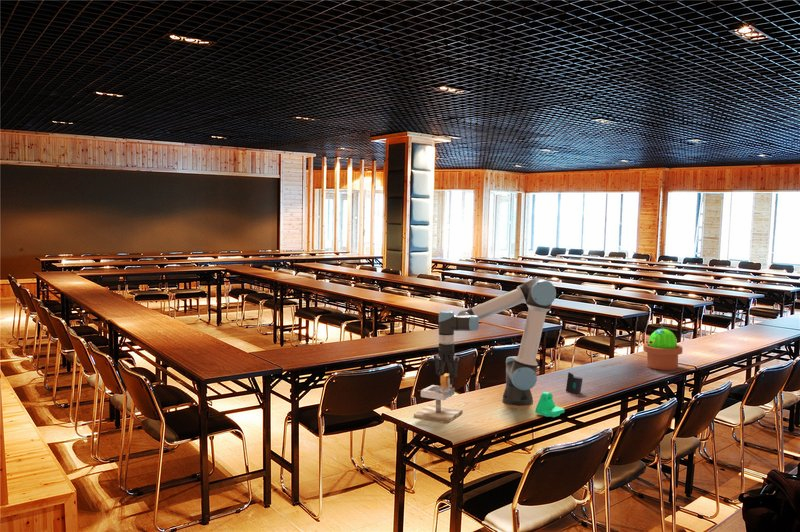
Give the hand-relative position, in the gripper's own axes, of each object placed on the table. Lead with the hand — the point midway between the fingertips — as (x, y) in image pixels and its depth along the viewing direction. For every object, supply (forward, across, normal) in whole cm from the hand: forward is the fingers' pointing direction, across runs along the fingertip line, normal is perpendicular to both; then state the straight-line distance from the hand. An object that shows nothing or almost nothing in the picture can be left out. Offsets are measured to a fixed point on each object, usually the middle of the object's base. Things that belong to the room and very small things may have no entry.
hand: (446, 390), depth 287 cm
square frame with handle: (0, 0, -7) cm, 7 cm away
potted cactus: (+9, +83, +141) cm, 164 cm away
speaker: (+10, +48, +59) cm, 77 cm away
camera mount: (+10, +47, +16) cm, 51 cm away
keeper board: (+10, 0, -9) cm, 14 cm away
